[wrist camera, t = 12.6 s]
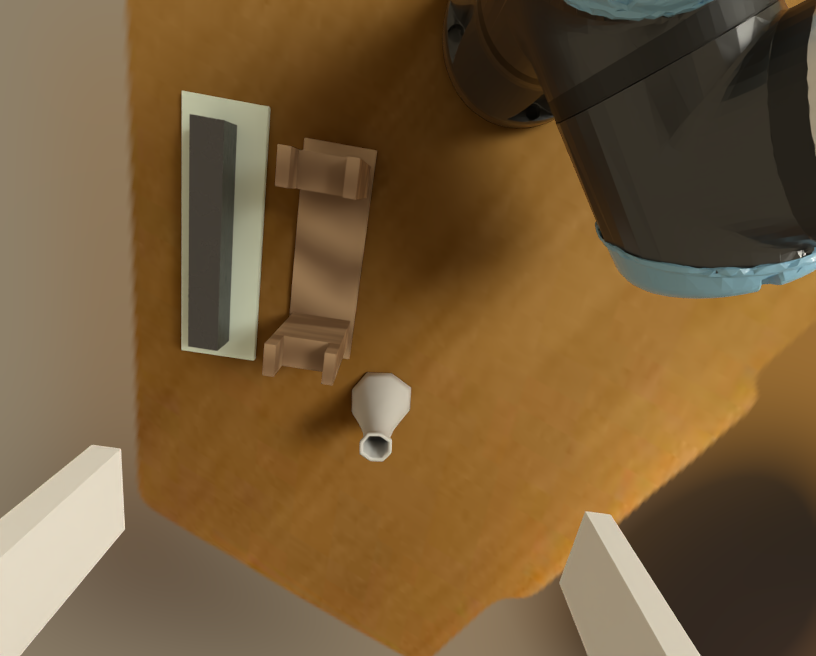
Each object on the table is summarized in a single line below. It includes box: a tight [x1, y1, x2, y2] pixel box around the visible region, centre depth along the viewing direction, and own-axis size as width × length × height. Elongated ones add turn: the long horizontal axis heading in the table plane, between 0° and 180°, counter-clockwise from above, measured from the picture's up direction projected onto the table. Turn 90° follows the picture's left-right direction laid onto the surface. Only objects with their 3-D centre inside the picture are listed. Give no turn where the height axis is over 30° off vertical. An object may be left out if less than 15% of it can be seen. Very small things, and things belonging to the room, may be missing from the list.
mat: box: [181, 91, 271, 361], centre depth 43 cm, size 26×8×1 cm, turn 170°
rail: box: [188, 114, 237, 351], centre depth 42 cm, size 22×3×3 cm, turn 171°
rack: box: [262, 137, 377, 385], centre depth 39 cm, size 22×7×10 cm, turn 171°
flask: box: [352, 372, 411, 462], centre depth 45 cm, size 7×7×10 cm
